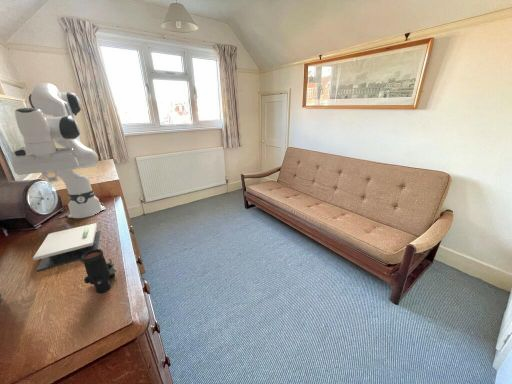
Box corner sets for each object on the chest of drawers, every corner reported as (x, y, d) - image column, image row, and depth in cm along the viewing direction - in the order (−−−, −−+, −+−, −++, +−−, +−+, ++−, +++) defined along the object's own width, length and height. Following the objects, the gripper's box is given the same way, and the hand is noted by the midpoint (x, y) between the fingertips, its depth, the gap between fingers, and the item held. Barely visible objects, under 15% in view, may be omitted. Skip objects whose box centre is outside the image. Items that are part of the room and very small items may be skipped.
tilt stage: (49, 236, 98) (47, 230, 97) (97, 225, 106) (95, 220, 106) (34, 260, 80) (31, 254, 79) (92, 245, 89) (90, 239, 88)
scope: (107, 241, 74) (107, 255, 66) (117, 273, 79) (118, 290, 71) (78, 249, 70) (74, 265, 62) (90, 282, 75) (88, 302, 67)
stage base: (51, 244, 99) (48, 236, 98) (100, 232, 109) (98, 224, 107) (36, 272, 81) (32, 263, 79) (97, 255, 90) (94, 246, 89)
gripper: (75, 146, 96) (84, 175, 101) (11, 151, 86) (24, 183, 91) (72, 147, 91) (82, 178, 96) (4, 153, 81) (19, 187, 86)
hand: (53, 181), depth 93 cm, fingers closed
